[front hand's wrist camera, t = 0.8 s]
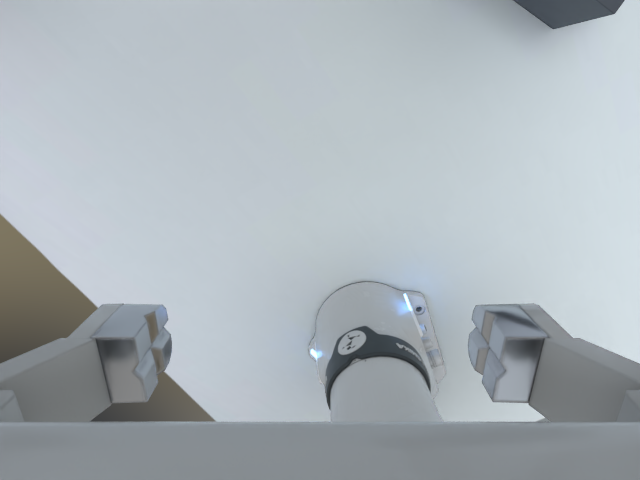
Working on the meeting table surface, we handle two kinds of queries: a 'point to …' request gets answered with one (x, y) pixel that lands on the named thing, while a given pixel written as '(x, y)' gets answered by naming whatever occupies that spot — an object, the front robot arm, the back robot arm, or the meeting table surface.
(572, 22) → the bar
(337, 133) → the meeting table surface
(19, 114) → the meeting table surface
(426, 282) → the meeting table surface
